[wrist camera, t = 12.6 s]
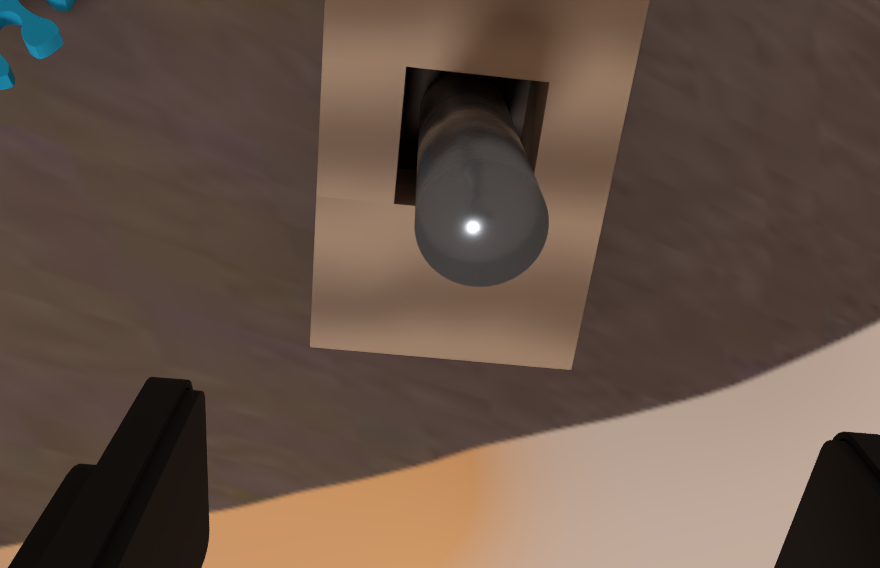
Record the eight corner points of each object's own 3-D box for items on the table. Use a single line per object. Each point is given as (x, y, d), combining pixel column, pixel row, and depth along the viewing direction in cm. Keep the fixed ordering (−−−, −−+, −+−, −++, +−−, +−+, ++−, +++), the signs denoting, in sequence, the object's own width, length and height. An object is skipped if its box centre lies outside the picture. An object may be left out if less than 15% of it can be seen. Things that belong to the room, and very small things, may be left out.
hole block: (345, -148, 31) (331, -158, 27) (639, -111, 32) (674, -115, 27) (323, 297, 40) (309, 346, 35) (555, 318, 40) (571, 369, 36)
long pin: (424, 66, 35) (421, 154, 22) (512, 76, 35) (559, 168, 22) (415, 153, 36) (408, 280, 24) (499, 162, 37) (537, 292, 24)
